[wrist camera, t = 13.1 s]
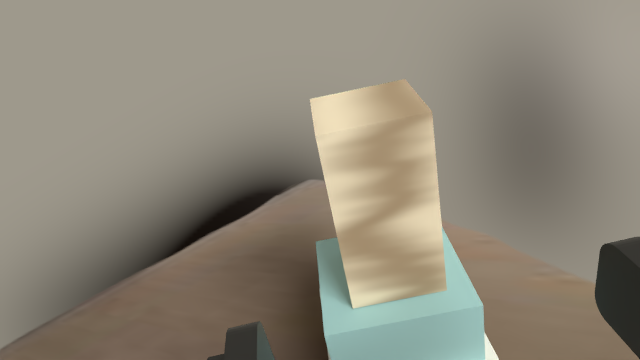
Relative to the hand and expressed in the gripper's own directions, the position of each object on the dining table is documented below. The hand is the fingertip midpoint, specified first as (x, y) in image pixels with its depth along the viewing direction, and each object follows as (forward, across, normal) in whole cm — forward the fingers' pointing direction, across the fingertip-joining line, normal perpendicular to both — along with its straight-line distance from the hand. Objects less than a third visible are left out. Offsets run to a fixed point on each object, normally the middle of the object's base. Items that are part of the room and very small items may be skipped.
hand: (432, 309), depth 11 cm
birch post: (+12, -1, +10) cm, 16 cm away
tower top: (+13, -1, +14) cm, 18 cm away
